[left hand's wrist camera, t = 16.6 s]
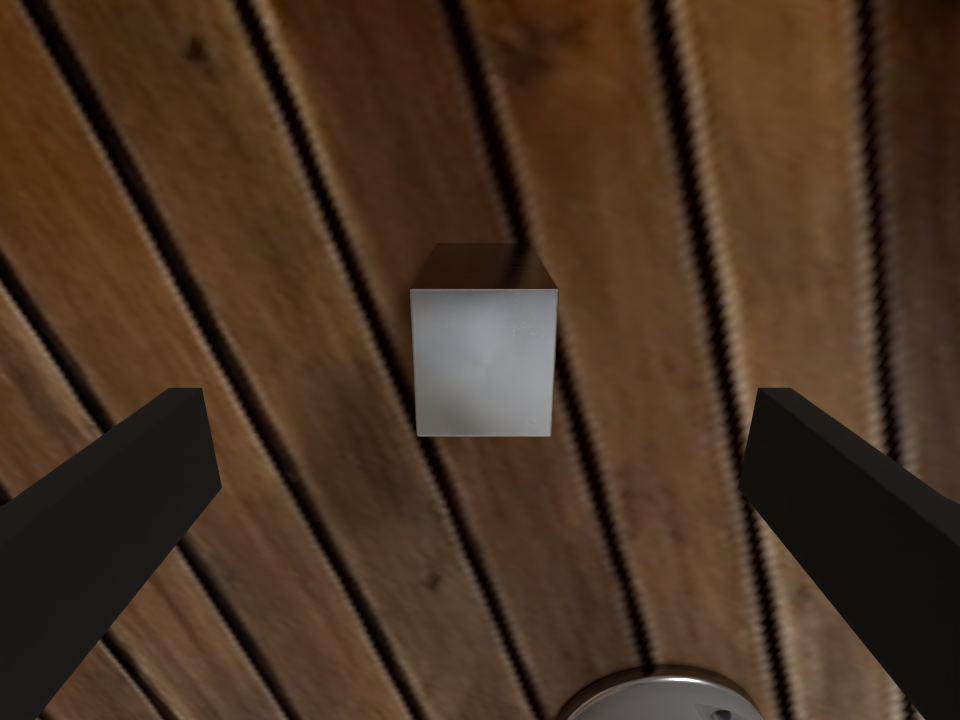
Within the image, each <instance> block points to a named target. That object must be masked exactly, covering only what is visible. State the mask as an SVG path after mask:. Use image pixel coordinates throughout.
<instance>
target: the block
mask: <svg viewBox="0 0 960 720" xmlns="http://www.w3.org/2000/svg"><path fill="white" fill-rule="evenodd" d="M558 299H559V289H558V288H557V286H556V284H555V283H554V281H553V280H552V278H551V276H550V275H549V273H548V272H547V270H546V268H545V267H544V265H543V264H542V262H541V260H540V259H539V257H538V256H537V254H536V252H535V251H534V249H533V248H532V246H531V244H437V245H436V247H435V249H434V250H433V252H432V254H431V255H430V257H429V259H428V260H427V262H426V264H425V265H424V267H423V269H422V270H421V272H420V274H419V275H418V277H417V279H416V280H415V282H414V284H413V285H412V287H411V289H410V308H411V328H412V349H413V370H414V390H415V411H416V432H417V436H438V437H550V436H551V432H552V413H553V394H554V375H555V356H556V337H557V318H558Z"/></svg>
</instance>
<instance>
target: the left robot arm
mask: <svg viewBox="0 0 960 720" xmlns="http://www.w3.org/2000/svg"><path fill="white" fill-rule="evenodd" d="M221 488H222V486H221V481H220V476H219V471H218V466H217V461H216V456H215V451H214V446H213V441H212V436H211V431H210V426H209V421H208V416H207V411H206V407H205V402H204V397H203V392H202V388H169V389H167V390H166V391H164V392H163V393H161V394H160V395H159V396H157V397H156V398H154V399H153V400H152V401H150V402H149V403H147V404H146V405H145V406H143V407H142V408H140V409H139V410H138V411H136V412H135V413H133V414H132V415H130V416H129V417H128V418H126V419H125V420H123V421H122V422H121V423H119V424H118V425H116V426H115V427H114V428H112V429H111V430H109V431H108V432H107V433H105V434H104V435H102V436H101V437H100V438H98V439H97V440H95V441H94V442H92V443H91V444H90V445H88V446H87V447H85V448H84V449H83V450H81V451H80V452H78V453H77V454H76V455H74V456H73V457H71V458H70V459H69V460H67V461H66V462H64V463H63V464H62V465H60V466H59V467H57V468H56V469H54V470H53V471H52V472H50V473H49V474H47V475H46V476H45V477H43V478H42V479H40V480H39V481H38V482H36V483H35V484H33V485H32V486H31V487H29V488H28V489H26V490H25V491H23V492H22V493H21V494H19V495H18V496H16V497H15V498H14V499H12V500H11V501H9V502H8V503H7V504H5V505H3V506H1V507H0V720H35V719H36V718H37V716H38V715H39V714H40V713H41V712H42V710H43V709H44V708H45V707H46V705H47V704H48V703H49V702H50V700H51V699H52V698H53V697H54V695H55V694H56V693H57V692H58V690H59V689H60V688H61V687H62V685H63V684H64V683H65V682H66V680H67V679H68V678H69V677H70V676H71V674H72V673H73V672H74V671H75V669H76V668H77V667H78V666H79V664H80V663H81V662H82V661H83V659H84V658H85V657H86V656H87V654H88V653H89V652H90V651H91V649H92V648H93V647H94V646H95V644H96V643H97V642H98V641H99V640H100V638H101V637H102V636H103V635H104V633H105V632H106V631H107V630H108V628H109V627H110V626H111V625H112V623H113V622H114V621H115V620H116V618H117V617H118V616H119V615H120V613H121V612H122V611H123V610H124V608H125V607H126V606H127V605H128V604H129V602H130V601H131V600H132V599H133V597H134V596H135V595H136V594H137V592H138V591H139V590H140V589H141V587H142V586H143V585H144V584H145V582H146V581H147V580H148V579H149V577H150V576H151V575H152V574H153V572H154V571H155V570H156V569H157V568H158V566H159V565H160V564H161V563H162V561H163V560H164V559H165V558H166V556H167V555H168V554H169V553H170V551H171V550H172V549H173V548H174V546H175V545H176V544H177V543H178V541H179V540H180V539H181V538H182V537H183V535H184V534H185V533H186V532H187V530H188V529H189V528H190V527H191V525H192V524H193V523H194V522H195V520H196V519H197V518H198V517H199V515H200V514H201V513H202V512H203V510H204V509H205V508H206V507H207V505H208V504H209V503H210V502H211V501H212V499H213V498H214V497H215V496H216V494H217V493H218V492H219V491H220V489H221ZM738 488H739V489H740V491H741V492H742V493H743V494H744V496H745V497H746V498H747V499H748V501H749V502H750V503H751V504H752V505H753V507H754V508H755V509H756V510H757V512H758V513H759V514H760V515H761V517H762V518H763V519H764V520H765V522H766V523H767V524H768V525H769V527H770V528H771V529H772V530H773V532H774V533H775V534H776V535H777V537H778V538H779V539H780V540H781V541H782V543H783V544H784V545H785V546H786V548H787V549H788V550H789V551H790V553H791V554H792V555H793V556H794V558H795V559H796V560H797V561H798V563H799V564H800V565H801V566H802V568H803V569H804V570H805V571H806V572H807V574H808V575H809V576H810V577H811V579H812V580H813V581H814V582H815V584H816V585H817V586H818V587H819V589H820V590H821V591H822V592H823V594H824V595H825V596H826V597H827V599H828V600H829V601H830V602H831V604H832V605H833V606H834V607H835V608H836V610H837V611H838V612H839V613H840V615H841V616H842V617H843V618H844V620H845V621H846V622H847V623H848V625H849V626H850V627H851V628H852V630H853V631H854V632H855V633H856V635H857V636H858V637H859V638H860V640H861V641H862V642H863V643H864V644H865V646H866V647H867V648H868V649H869V651H870V652H871V653H872V654H873V656H874V657H875V658H876V659H877V661H878V662H879V663H880V664H881V666H882V667H883V668H884V669H885V671H886V672H887V673H888V674H889V676H890V677H891V678H892V679H893V680H894V682H895V683H896V684H897V685H898V687H899V688H900V689H901V690H902V692H903V693H904V694H905V695H906V697H907V698H908V699H909V700H910V702H911V703H912V704H913V705H914V707H915V708H916V709H917V710H918V712H919V713H920V714H921V715H922V716H923V718H924V719H925V720H960V504H958V503H956V502H953V501H951V500H949V499H947V498H945V497H944V496H942V495H941V494H939V493H938V492H937V491H935V490H934V489H932V488H931V487H929V486H928V485H927V484H925V483H924V482H922V481H921V480H920V479H918V478H917V477H915V476H914V475H913V474H911V473H910V472H908V471H907V470H906V469H904V468H903V467H901V466H900V465H898V464H897V463H896V462H894V461H893V460H891V459H890V458H889V457H887V456H886V455H884V454H883V453H882V452H880V451H879V450H877V449H876V448H875V447H873V446H872V445H870V444H869V443H868V442H866V441H865V440H863V439H862V438H860V437H859V436H858V435H856V434H855V433H853V432H852V431H851V430H849V429H848V428H846V427H845V426H844V425H842V424H841V423H839V422H838V421H837V420H835V419H834V418H832V417H831V416H830V415H828V414H827V413H825V412H824V411H822V410H821V409H820V408H818V407H817V406H815V405H814V404H813V403H811V402H810V401H808V400H807V399H806V398H804V397H803V396H801V395H800V394H799V393H797V392H796V391H794V390H793V389H791V388H758V392H757V397H756V402H755V407H754V411H753V416H752V421H751V426H750V431H749V436H748V441H747V446H746V451H745V456H744V461H743V466H742V471H741V476H740V481H739V486H738Z"/></svg>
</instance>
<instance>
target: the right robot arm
mask: <svg viewBox="0 0 960 720" xmlns="http://www.w3.org/2000/svg"><path fill="white" fill-rule="evenodd" d="M558 720H764V719H763V718H762V716H761V714H760V712H759V710H758V708H757V706H756V704H755V702H754V701H753V699H752V698H751V697H750V696H749V694H748V693H747V692H746V691H745V690H744V689H742V688H741V687H740V686H739V685H737V684H736V683H734V682H733V681H731V680H730V679H728V678H726V677H724V676H722V675H719V674H717V673H714V672H712V671H708V670H705V669H701V668H696V667H691V666H684V665H653V666H645V667H639V668H634V669H630V670H626V671H623V672H620V673H617V674H614V675H611V676H609V677H606V678H604V679H602V680H600V681H598V682H596V683H595V684H593V685H591V686H589V687H588V688H586V689H585V690H584V691H582V692H581V693H580V694H578V695H577V696H576V697H575V698H574V699H573V700H572V701H571V702H570V703H569V704H568V705H567V706H566V707H565V709H564V710H563V711H562V713H561V714H560V716H559V718H558Z"/></svg>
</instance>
